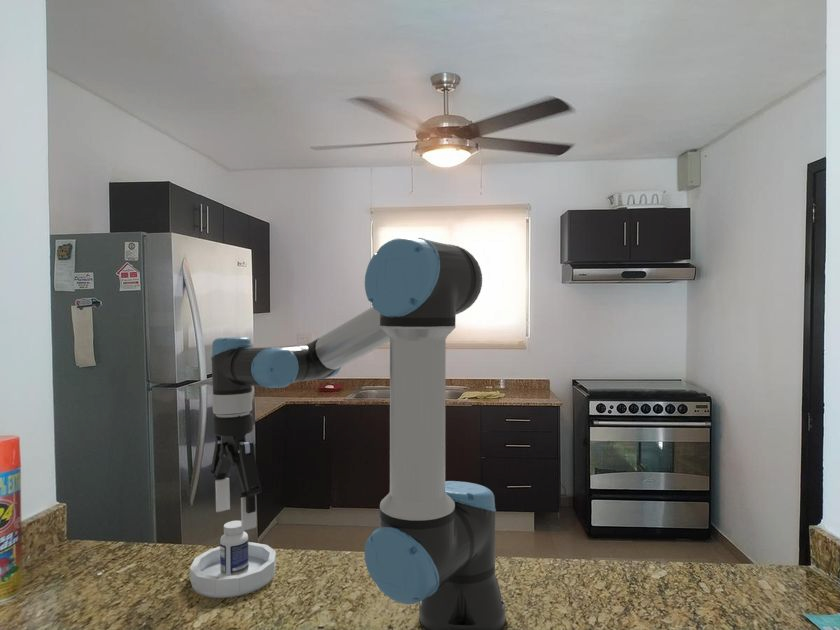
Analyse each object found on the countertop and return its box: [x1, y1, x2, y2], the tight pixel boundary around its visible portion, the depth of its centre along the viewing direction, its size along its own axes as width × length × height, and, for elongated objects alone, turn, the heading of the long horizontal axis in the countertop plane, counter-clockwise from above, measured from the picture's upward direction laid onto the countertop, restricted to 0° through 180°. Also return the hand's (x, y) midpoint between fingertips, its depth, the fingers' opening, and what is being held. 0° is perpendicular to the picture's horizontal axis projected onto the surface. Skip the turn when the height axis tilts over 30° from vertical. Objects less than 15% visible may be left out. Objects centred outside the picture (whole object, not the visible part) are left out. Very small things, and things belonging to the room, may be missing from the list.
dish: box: [189, 541, 277, 599], centre depth 109 cm, size 16×16×4 cm
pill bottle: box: [219, 520, 249, 576], centre depth 109 cm, size 5×5×10 cm
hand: (235, 519), depth 109 cm, fingers open, 13 cm apart
